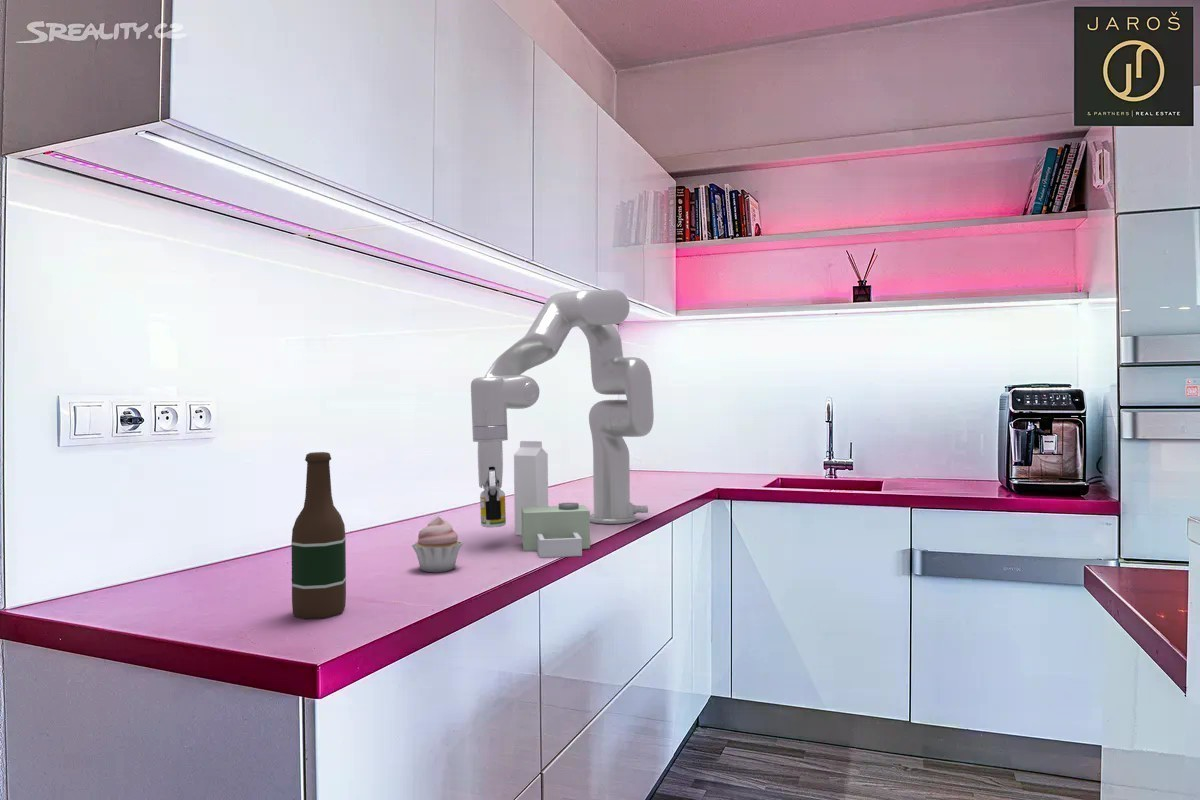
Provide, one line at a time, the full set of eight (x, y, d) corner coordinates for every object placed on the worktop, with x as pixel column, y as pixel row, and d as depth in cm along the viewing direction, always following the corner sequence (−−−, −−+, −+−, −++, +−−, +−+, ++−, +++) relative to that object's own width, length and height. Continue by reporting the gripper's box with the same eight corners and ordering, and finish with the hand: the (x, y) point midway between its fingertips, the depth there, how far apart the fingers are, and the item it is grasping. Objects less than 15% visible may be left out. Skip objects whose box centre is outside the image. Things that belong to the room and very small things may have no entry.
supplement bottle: (476, 527, 164) (474, 483, 164) (488, 522, 169) (486, 479, 169) (499, 528, 162) (497, 483, 162) (510, 523, 167) (508, 480, 167)
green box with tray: (584, 540, 171) (583, 500, 171) (595, 555, 155) (595, 511, 155) (521, 543, 169) (521, 502, 169) (526, 558, 152) (525, 513, 152)
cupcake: (429, 577, 137) (428, 521, 137) (403, 569, 143) (402, 516, 143) (472, 569, 143) (472, 515, 143) (445, 561, 150) (445, 511, 150)
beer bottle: (339, 603, 119) (338, 450, 120) (352, 614, 113) (351, 452, 113) (287, 610, 115) (285, 452, 115) (297, 623, 109) (296, 455, 109)
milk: (527, 531, 185) (526, 440, 185) (549, 532, 182) (548, 440, 183) (514, 535, 179) (513, 441, 180) (536, 536, 177) (535, 441, 177)
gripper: (472, 432, 173) (476, 511, 173) (472, 437, 156) (475, 525, 156) (506, 430, 174) (509, 509, 174) (509, 435, 157) (512, 523, 158)
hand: (493, 516), depth 165 cm, fingers closed on supplement bottle, 5 cm apart
